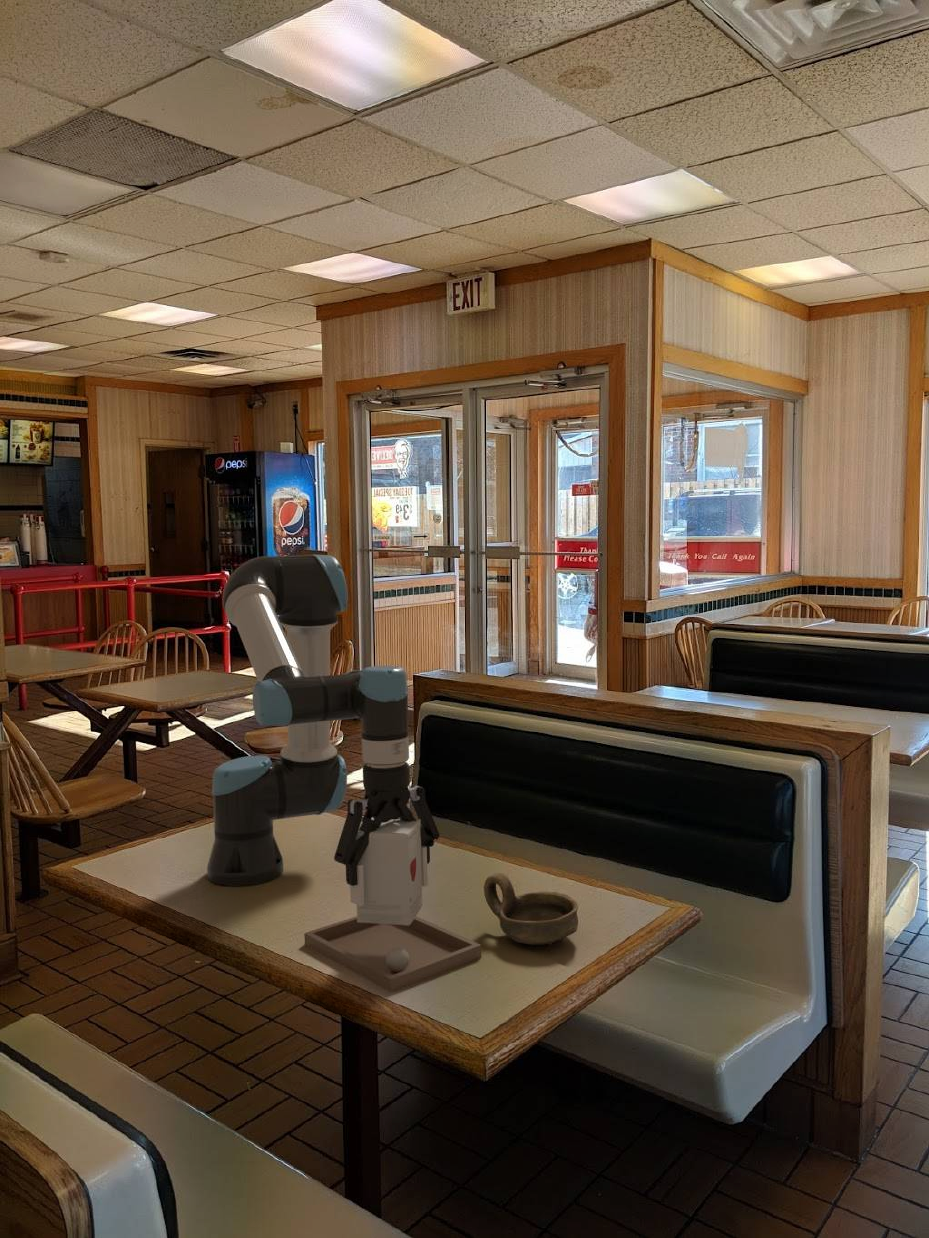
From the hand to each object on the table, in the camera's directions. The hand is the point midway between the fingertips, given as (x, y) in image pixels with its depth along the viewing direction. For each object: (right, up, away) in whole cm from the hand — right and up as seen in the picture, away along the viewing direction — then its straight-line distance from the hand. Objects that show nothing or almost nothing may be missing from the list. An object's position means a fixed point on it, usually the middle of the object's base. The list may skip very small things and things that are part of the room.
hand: (390, 893), depth 164 cm
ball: (+2, -10, -7) cm, 12 cm away
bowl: (+23, -9, +6) cm, 26 cm away
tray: (0, -10, +1) cm, 10 cm away
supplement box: (0, -4, 0) cm, 4 cm away
